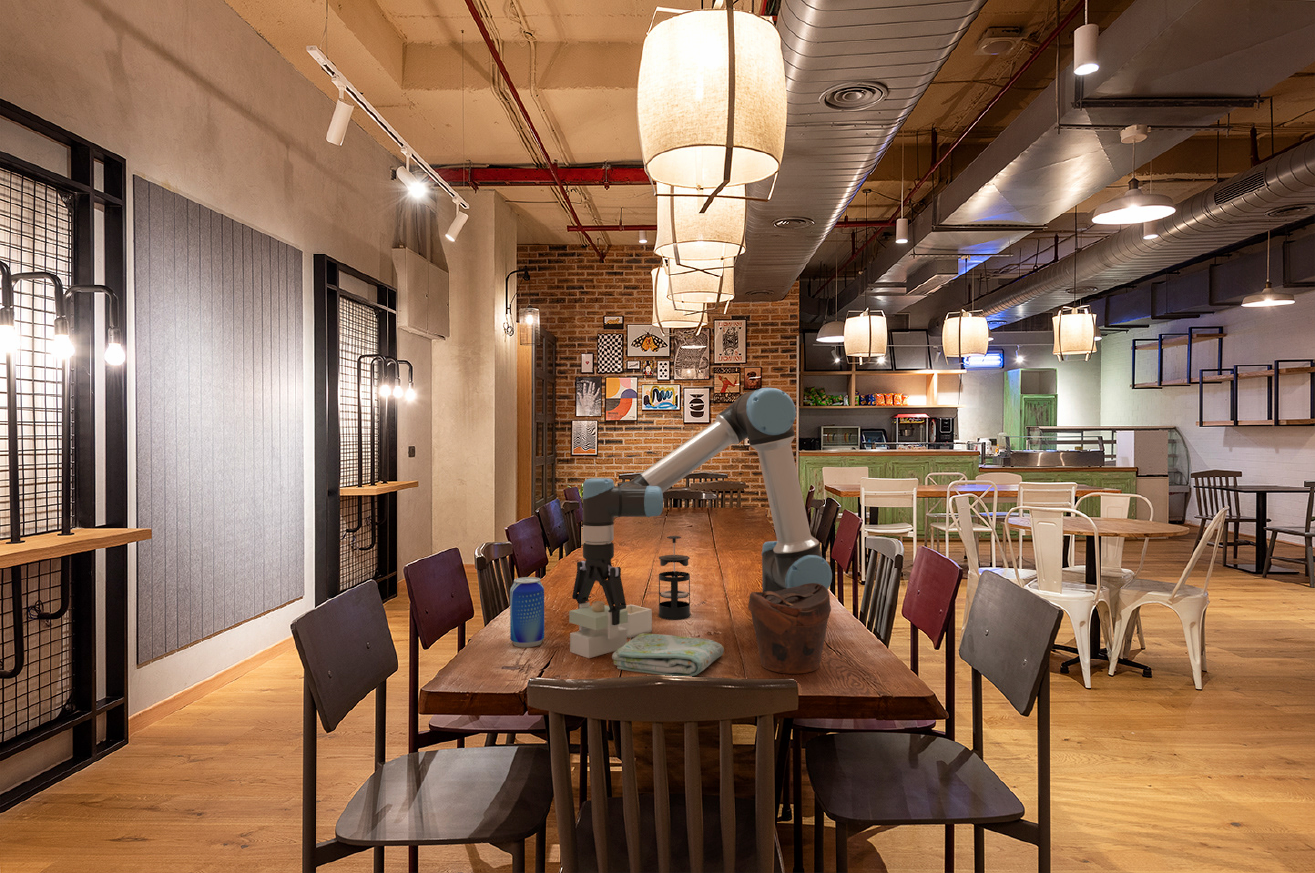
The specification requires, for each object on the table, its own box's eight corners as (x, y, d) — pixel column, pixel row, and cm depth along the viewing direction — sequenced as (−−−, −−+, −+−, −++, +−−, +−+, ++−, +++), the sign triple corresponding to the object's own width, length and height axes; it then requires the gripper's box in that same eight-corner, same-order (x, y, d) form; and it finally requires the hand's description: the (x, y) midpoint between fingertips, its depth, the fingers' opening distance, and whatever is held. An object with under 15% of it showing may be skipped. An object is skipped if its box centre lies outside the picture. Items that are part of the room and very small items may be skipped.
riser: (626, 647, 174) (626, 629, 174) (588, 658, 166) (588, 638, 166) (608, 641, 179) (608, 623, 179) (570, 651, 171) (570, 633, 171)
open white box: (651, 631, 188) (651, 609, 188) (629, 638, 183) (629, 614, 183) (631, 626, 194) (631, 604, 194) (609, 632, 188) (609, 609, 188)
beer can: (540, 637, 184) (540, 575, 184) (547, 646, 176) (547, 581, 176) (507, 640, 181) (507, 577, 181) (513, 649, 173) (513, 584, 173)
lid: (627, 622, 173) (627, 602, 173) (595, 630, 166) (595, 609, 166) (600, 615, 180) (600, 596, 180) (569, 622, 173) (569, 602, 173)
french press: (690, 620, 200) (690, 538, 200) (657, 620, 200) (656, 538, 200) (690, 610, 212) (690, 533, 212) (659, 610, 212) (658, 533, 212)
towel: (642, 648, 175) (642, 627, 175) (725, 657, 167) (724, 636, 167) (609, 670, 159) (609, 647, 159) (699, 682, 150) (699, 658, 150)
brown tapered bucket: (731, 670, 157) (732, 588, 157) (770, 648, 173) (771, 574, 173) (808, 687, 147) (810, 600, 147) (841, 662, 163) (842, 584, 163)
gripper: (641, 545, 167) (641, 639, 167) (581, 536, 183) (581, 622, 183) (617, 548, 162) (617, 646, 162) (557, 538, 178) (557, 627, 178)
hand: (598, 633), depth 173 cm, fingers closed on lid, 10 cm apart
